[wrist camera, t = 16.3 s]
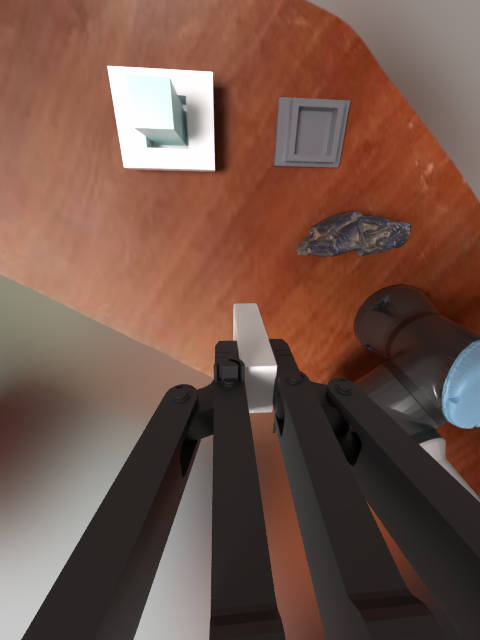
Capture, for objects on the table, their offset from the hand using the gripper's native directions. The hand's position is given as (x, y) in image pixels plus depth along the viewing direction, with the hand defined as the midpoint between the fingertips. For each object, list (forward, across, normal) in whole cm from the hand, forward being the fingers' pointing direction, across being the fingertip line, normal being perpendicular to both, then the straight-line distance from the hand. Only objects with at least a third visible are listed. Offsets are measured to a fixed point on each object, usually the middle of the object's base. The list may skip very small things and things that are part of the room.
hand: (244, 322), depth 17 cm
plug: (+29, +8, -15) cm, 34 cm away
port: (+30, +8, -15) cm, 35 cm away
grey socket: (+30, -12, -15) cm, 36 cm away
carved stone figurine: (+31, -17, -1) cm, 35 cm away
